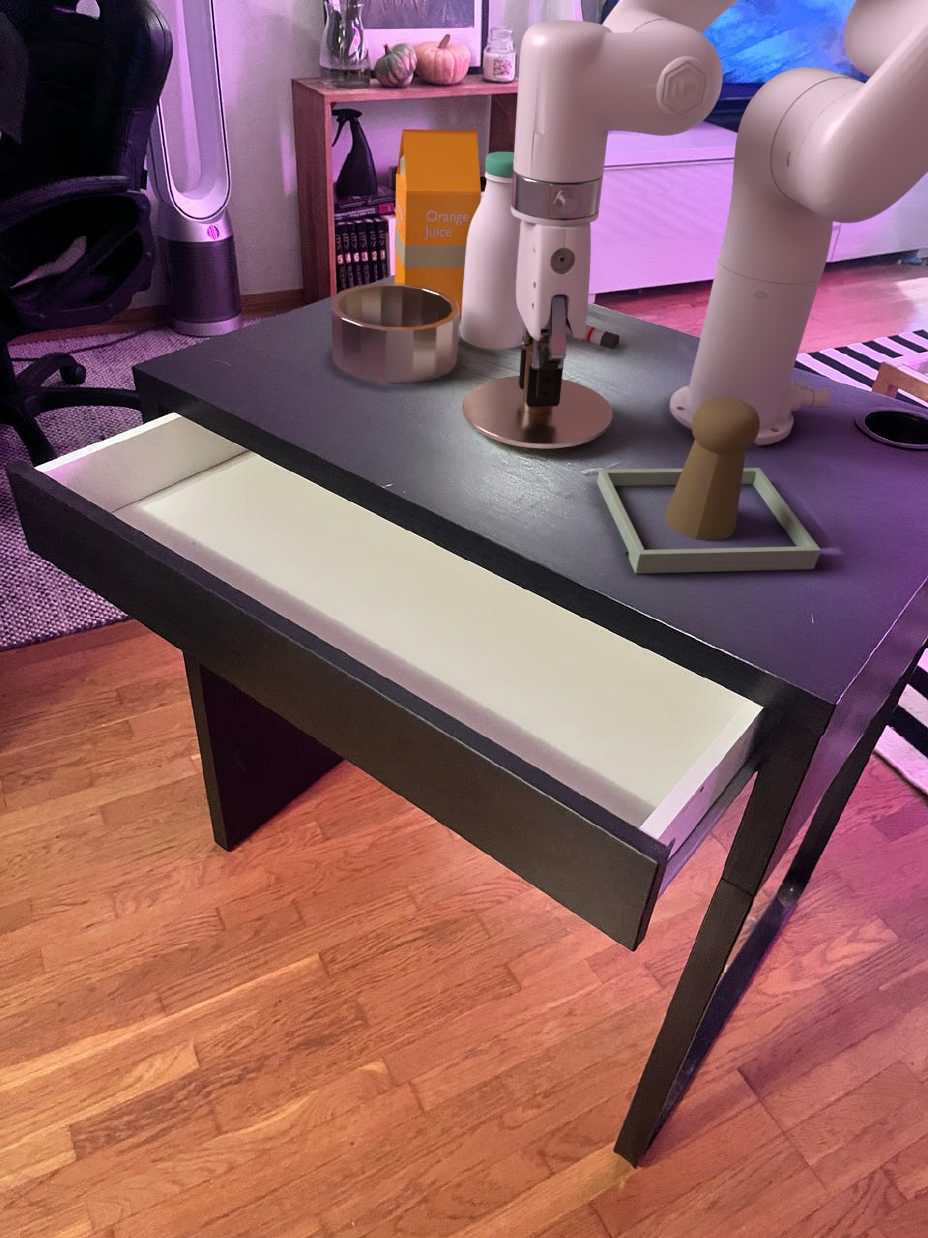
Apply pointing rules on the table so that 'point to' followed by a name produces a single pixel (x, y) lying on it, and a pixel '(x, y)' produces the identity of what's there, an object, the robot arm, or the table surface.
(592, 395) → the pan lid
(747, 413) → the brown chess pawn
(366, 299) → the pan
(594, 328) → the marker
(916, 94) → the robot arm
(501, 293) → the milk bottle
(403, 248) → the orange juice
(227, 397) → the table surface
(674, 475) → the grey rectangular frame
